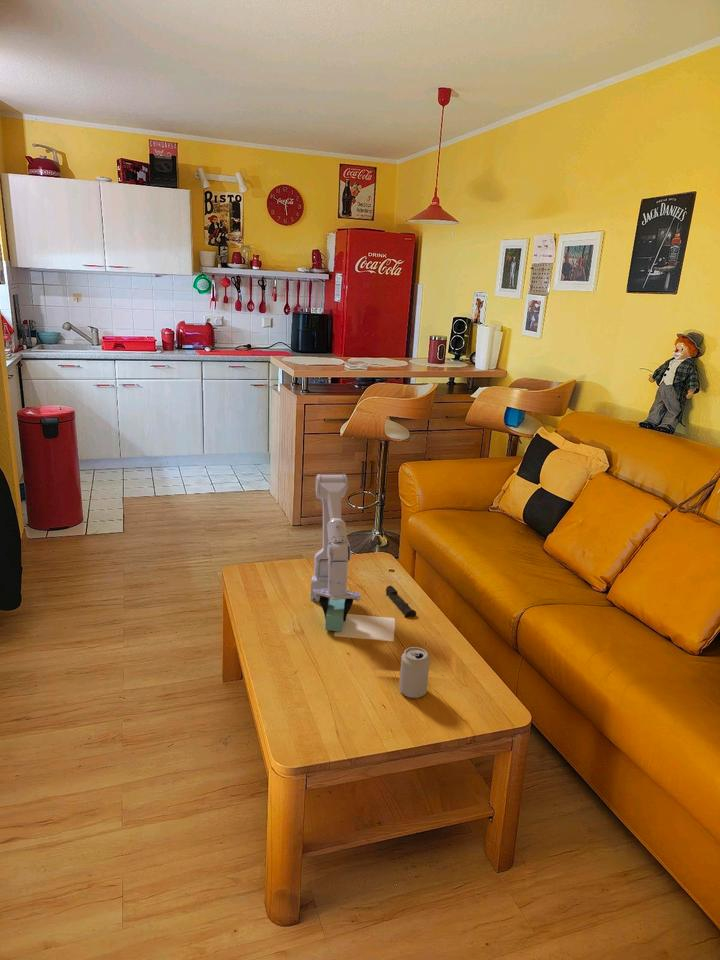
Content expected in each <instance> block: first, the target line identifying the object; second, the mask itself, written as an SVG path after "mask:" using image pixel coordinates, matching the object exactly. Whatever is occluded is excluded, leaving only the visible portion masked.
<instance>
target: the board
mask: <svg viewBox="0 0 720 960" xmlns="http://www.w3.org/2000/svg"><path fill="white" fill-rule="evenodd" d="M395 626H396V618H395V617H386V616H375V615H362V614H352V613H348V614H347V616H346V621H344V623H343V627H342V631H334V637H340V638H343V637H344V638H349V639H350V638H353V639H362V640H376V641H385V642H394V641H395V640H394V639H395Z"/></svg>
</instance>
